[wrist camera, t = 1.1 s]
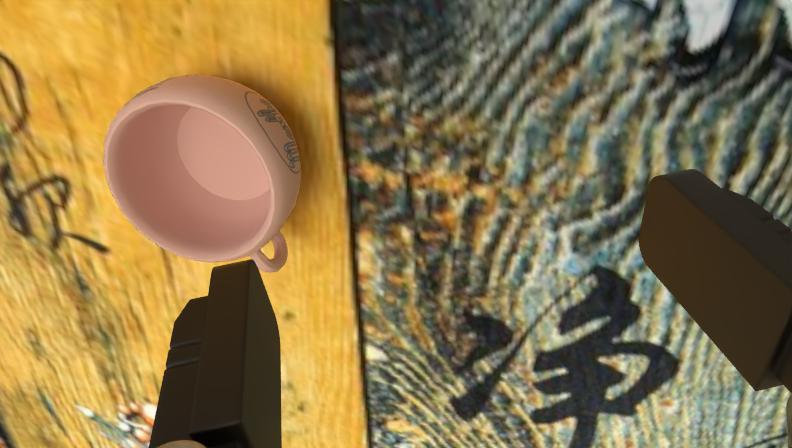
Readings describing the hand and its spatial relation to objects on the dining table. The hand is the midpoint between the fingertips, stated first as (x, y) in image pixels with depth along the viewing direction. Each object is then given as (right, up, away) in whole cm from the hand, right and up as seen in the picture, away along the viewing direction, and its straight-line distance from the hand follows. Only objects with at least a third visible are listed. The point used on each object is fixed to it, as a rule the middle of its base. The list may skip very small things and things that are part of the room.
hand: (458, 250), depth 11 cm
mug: (-10, +5, +22) cm, 25 cm away
